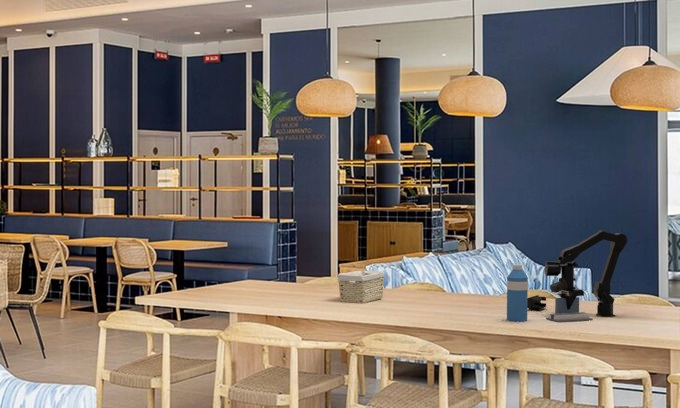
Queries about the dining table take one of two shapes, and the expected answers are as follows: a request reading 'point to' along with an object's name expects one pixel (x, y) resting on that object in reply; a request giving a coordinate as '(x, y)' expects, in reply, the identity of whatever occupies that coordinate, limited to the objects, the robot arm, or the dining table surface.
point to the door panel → (562, 306)
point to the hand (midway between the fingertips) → (567, 309)
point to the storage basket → (361, 286)
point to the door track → (569, 317)
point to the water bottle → (517, 295)
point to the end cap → (536, 303)
